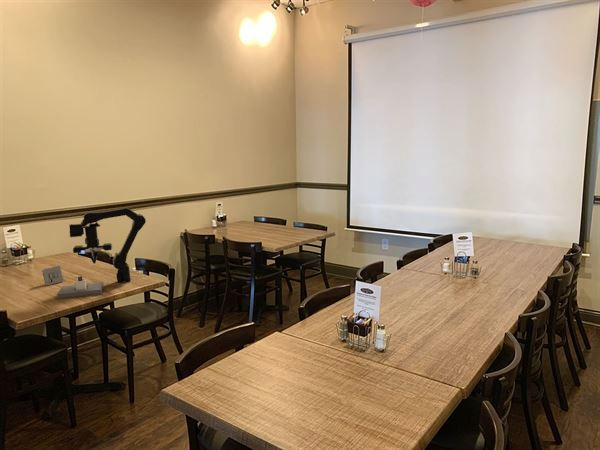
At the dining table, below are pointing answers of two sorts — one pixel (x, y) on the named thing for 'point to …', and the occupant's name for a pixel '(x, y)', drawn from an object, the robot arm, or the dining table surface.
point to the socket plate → (72, 292)
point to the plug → (80, 283)
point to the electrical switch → (52, 275)
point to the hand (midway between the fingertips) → (94, 263)
